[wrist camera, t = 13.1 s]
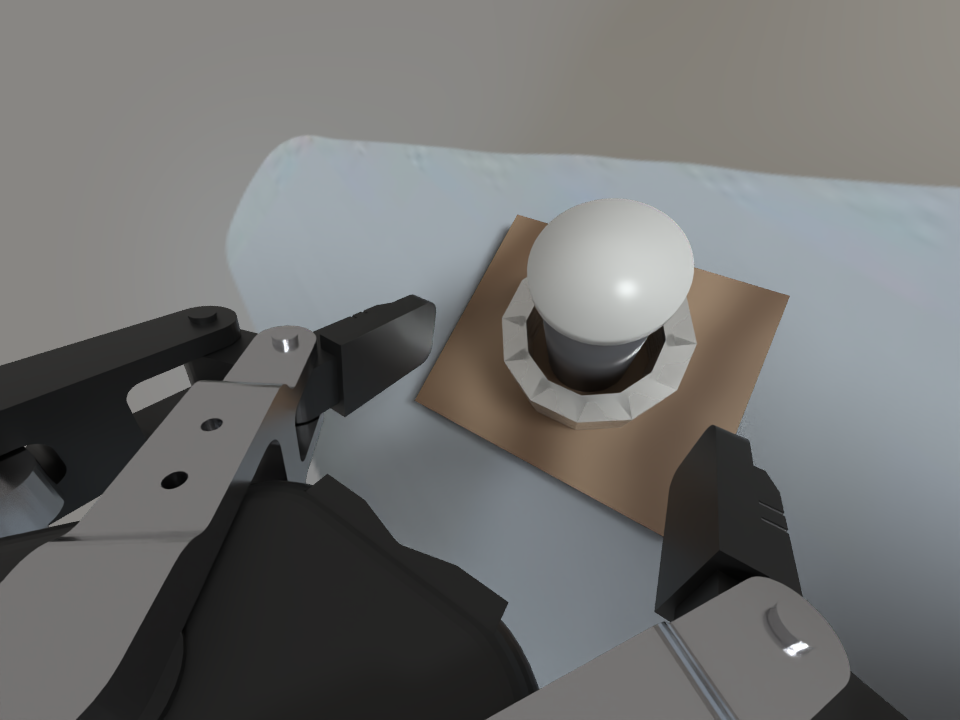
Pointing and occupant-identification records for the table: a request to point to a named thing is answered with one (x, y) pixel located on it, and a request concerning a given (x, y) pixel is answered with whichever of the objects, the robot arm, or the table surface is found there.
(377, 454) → the table surface
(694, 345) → the faceted white ring
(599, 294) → the white capped grey cylinder
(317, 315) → the table surface
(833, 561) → the table surface
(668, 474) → the mount board
